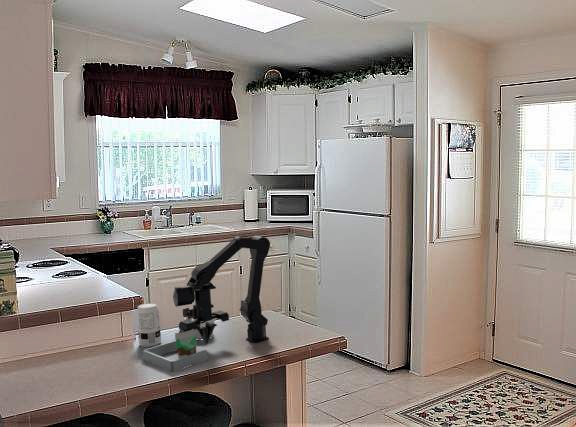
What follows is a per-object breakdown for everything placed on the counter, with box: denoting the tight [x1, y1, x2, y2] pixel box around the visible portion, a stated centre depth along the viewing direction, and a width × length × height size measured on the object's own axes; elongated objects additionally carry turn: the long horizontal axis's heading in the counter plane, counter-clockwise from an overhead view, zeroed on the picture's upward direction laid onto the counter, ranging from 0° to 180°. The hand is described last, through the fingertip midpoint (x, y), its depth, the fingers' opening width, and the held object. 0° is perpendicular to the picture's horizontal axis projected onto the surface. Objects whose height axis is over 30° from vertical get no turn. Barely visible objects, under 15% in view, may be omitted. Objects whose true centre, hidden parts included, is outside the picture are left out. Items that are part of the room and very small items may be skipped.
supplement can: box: [136, 302, 162, 348], centre depth 227 cm, size 8×8×15 cm
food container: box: [174, 328, 198, 359], centre depth 212 cm, size 12×6×10 cm, turn 174°
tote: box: [141, 339, 208, 373], centre depth 208 cm, size 14×19×4 cm
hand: (205, 343), depth 217 cm, fingers closed
